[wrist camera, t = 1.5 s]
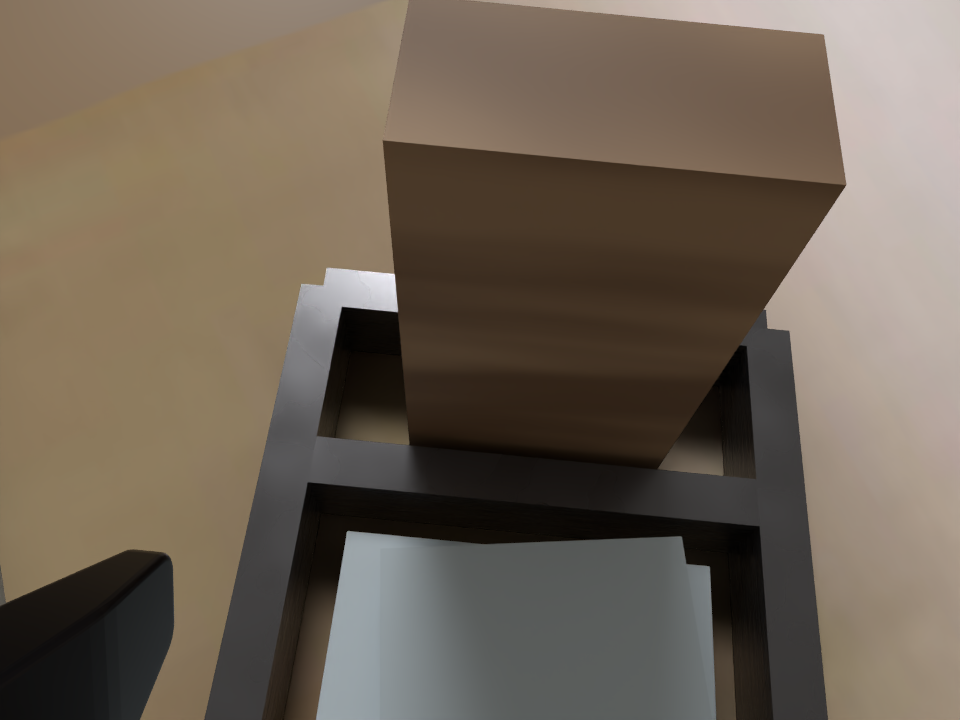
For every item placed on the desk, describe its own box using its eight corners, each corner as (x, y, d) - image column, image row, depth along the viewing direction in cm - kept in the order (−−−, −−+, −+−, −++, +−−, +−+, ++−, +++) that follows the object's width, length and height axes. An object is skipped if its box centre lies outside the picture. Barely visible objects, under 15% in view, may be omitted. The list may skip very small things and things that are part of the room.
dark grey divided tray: (806, 994, 18) (858, 1022, 16) (188, 932, 18) (152, 952, 16) (757, 354, 25) (787, 312, 23) (317, 311, 25) (305, 265, 23)
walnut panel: (643, 488, 23) (846, 185, 12) (411, 465, 23) (382, 140, 12) (643, 391, 24) (823, 34, 13) (424, 369, 25) (409, -5, 13)
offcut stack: (702, 893, 19) (745, 910, 16) (304, 854, 19) (281, 864, 16) (692, 571, 22) (726, 540, 19) (354, 538, 22) (342, 503, 19)
